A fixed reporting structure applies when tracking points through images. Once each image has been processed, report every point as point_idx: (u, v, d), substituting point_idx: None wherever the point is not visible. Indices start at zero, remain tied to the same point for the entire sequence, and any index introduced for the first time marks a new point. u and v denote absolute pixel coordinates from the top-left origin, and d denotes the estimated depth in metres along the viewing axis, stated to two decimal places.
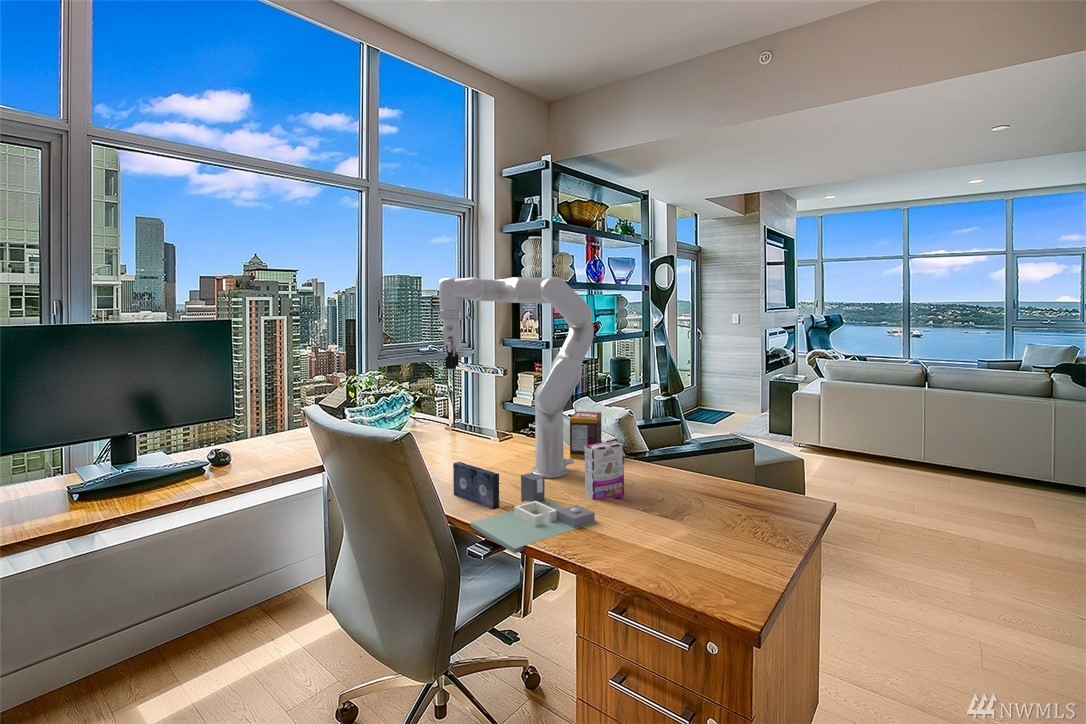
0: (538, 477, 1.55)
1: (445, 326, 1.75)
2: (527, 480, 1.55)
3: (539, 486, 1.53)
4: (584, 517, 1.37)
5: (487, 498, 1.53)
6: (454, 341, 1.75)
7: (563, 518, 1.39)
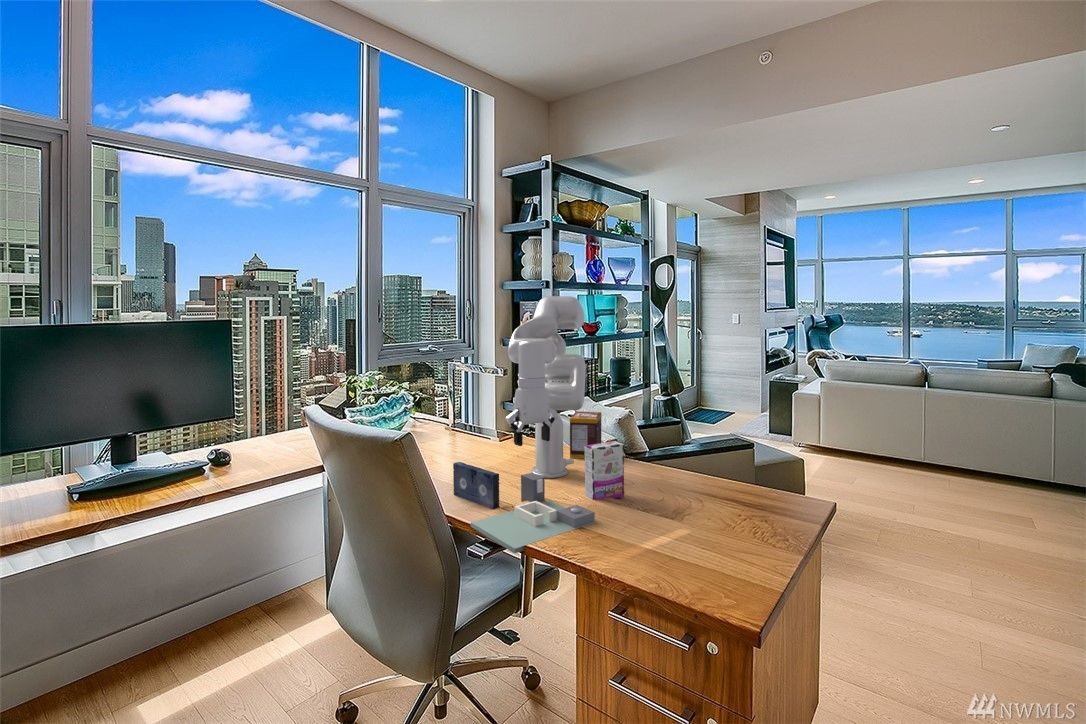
0: (538, 477, 1.55)
1: None
2: (527, 480, 1.55)
3: (539, 486, 1.53)
4: (584, 517, 1.37)
5: (487, 498, 1.53)
6: None
7: (563, 518, 1.39)
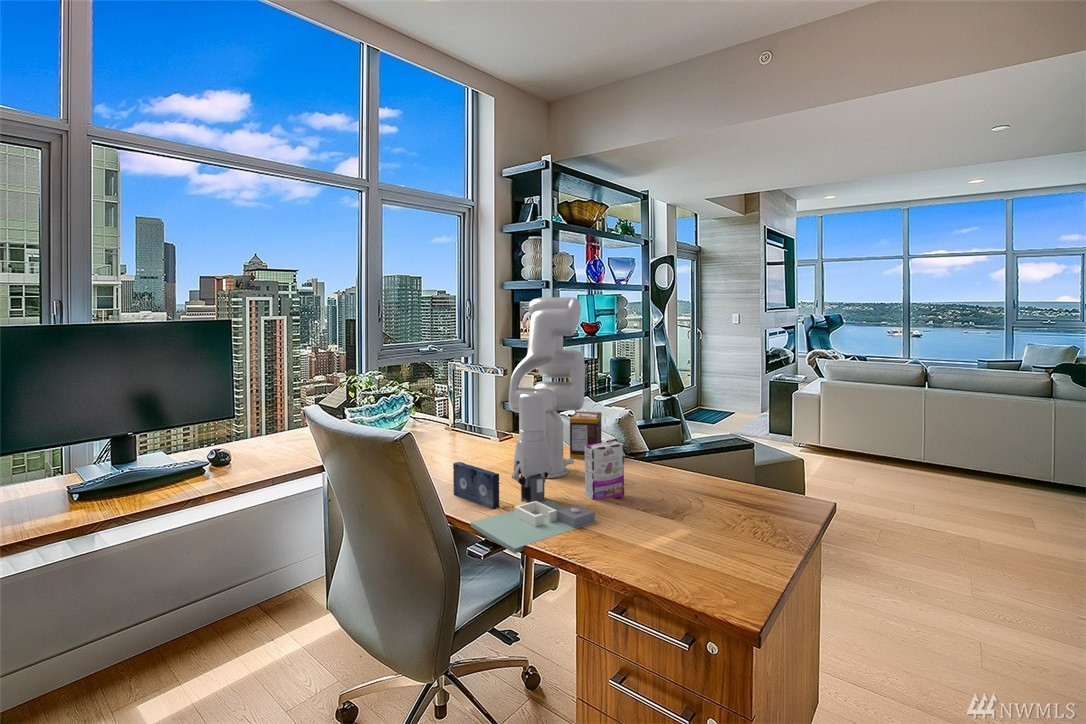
0: (538, 477, 1.55)
1: None
2: None
3: (539, 486, 1.53)
4: (584, 517, 1.37)
5: (487, 498, 1.53)
6: None
7: (563, 518, 1.39)
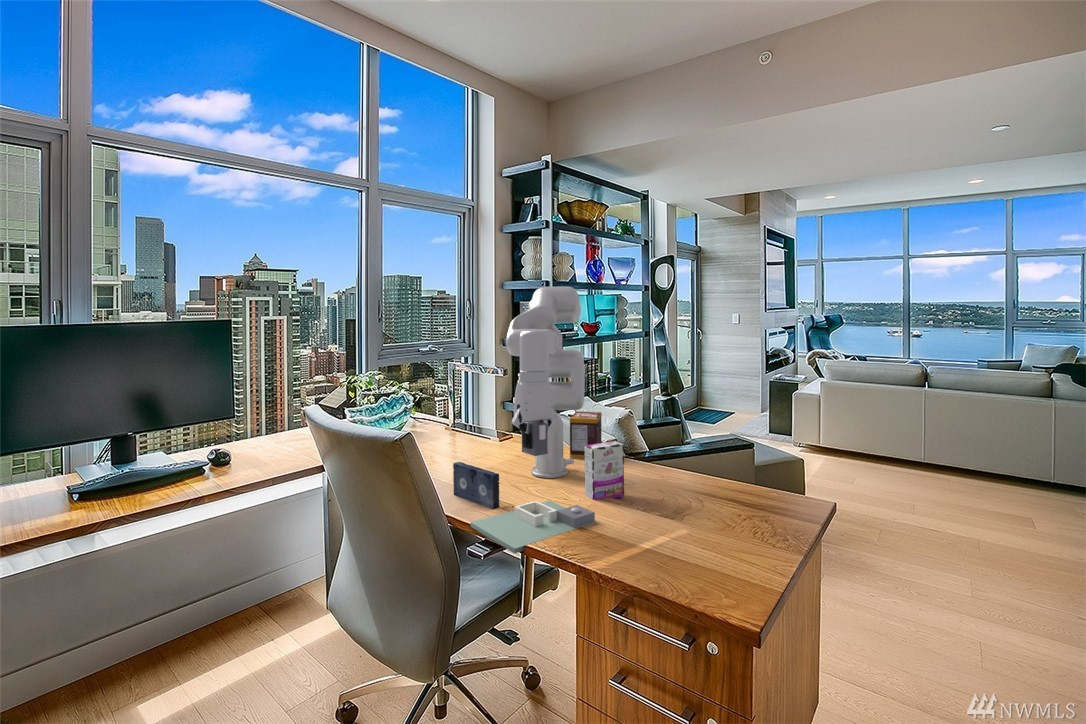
0: (540, 423, 1.41)
1: None
2: None
3: (541, 432, 1.39)
4: (584, 517, 1.37)
5: (487, 498, 1.53)
6: None
7: (563, 518, 1.39)
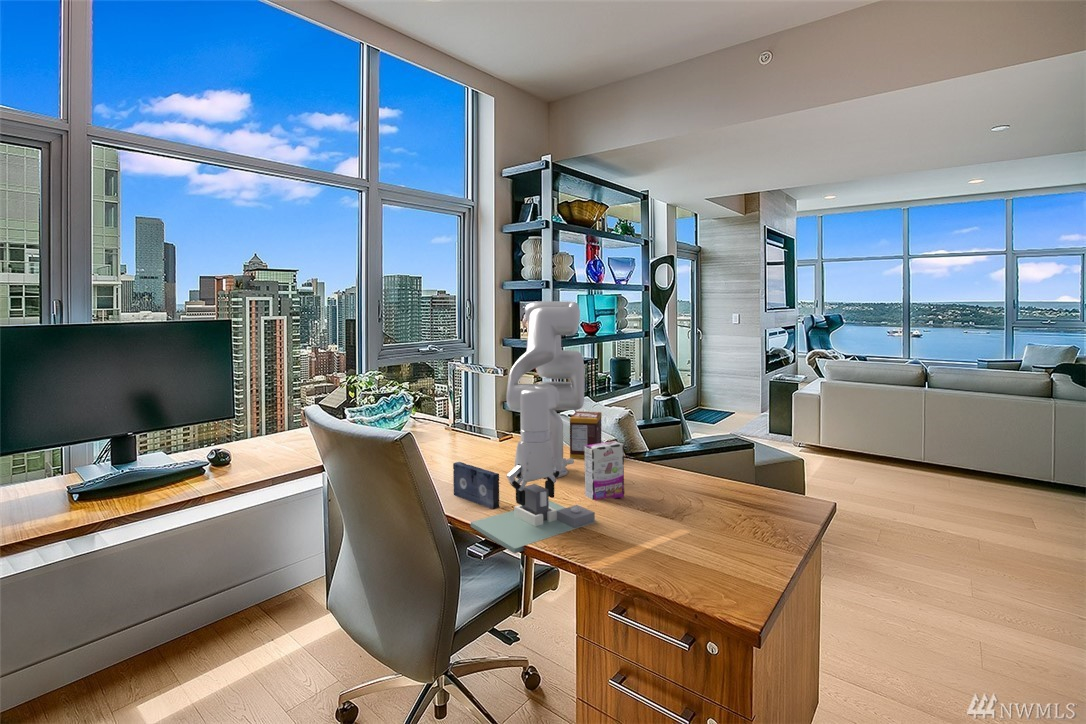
0: (541, 489, 1.40)
1: None
2: (530, 493, 1.40)
3: (542, 499, 1.39)
4: (584, 517, 1.37)
5: (487, 498, 1.53)
6: None
7: (563, 518, 1.39)
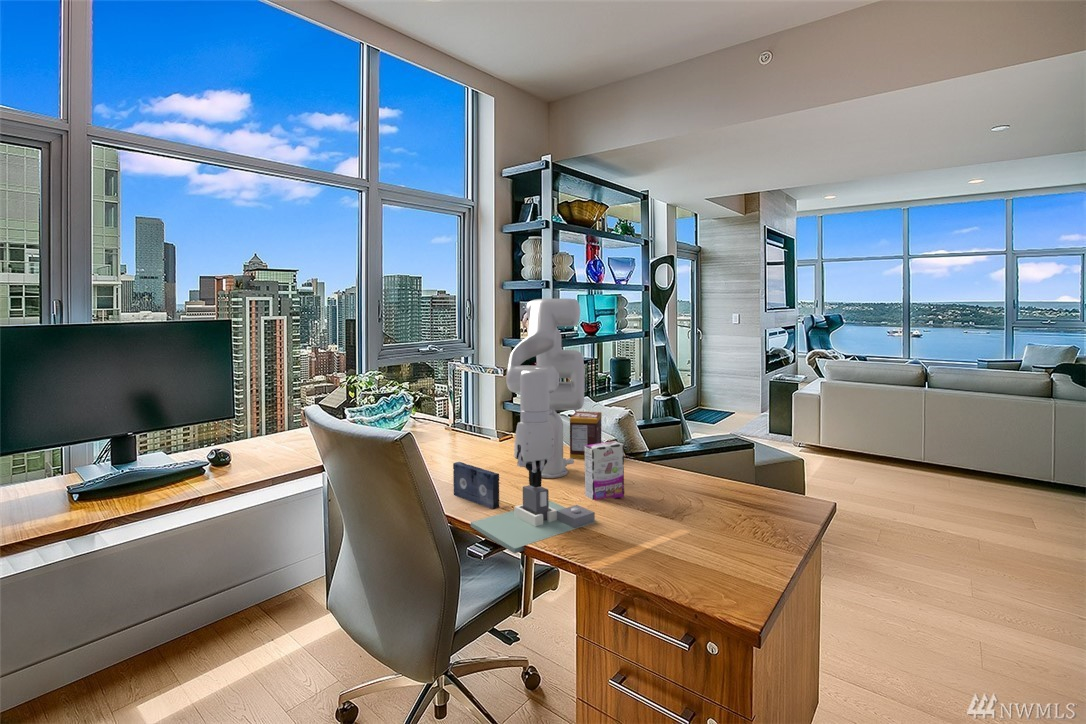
0: (541, 489, 1.40)
1: None
2: (530, 493, 1.40)
3: (542, 499, 1.39)
4: (584, 517, 1.37)
5: (487, 498, 1.53)
6: None
7: (563, 518, 1.39)
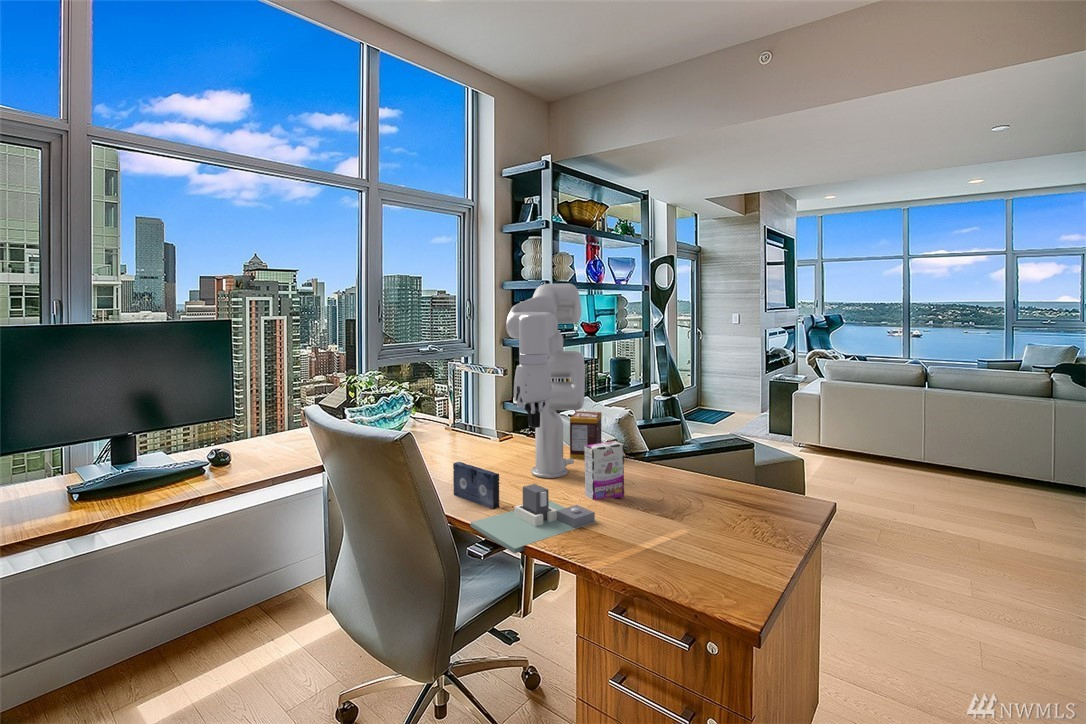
0: (541, 489, 1.40)
1: None
2: (530, 493, 1.40)
3: (542, 499, 1.39)
4: (584, 517, 1.37)
5: (487, 498, 1.53)
6: None
7: (563, 518, 1.39)
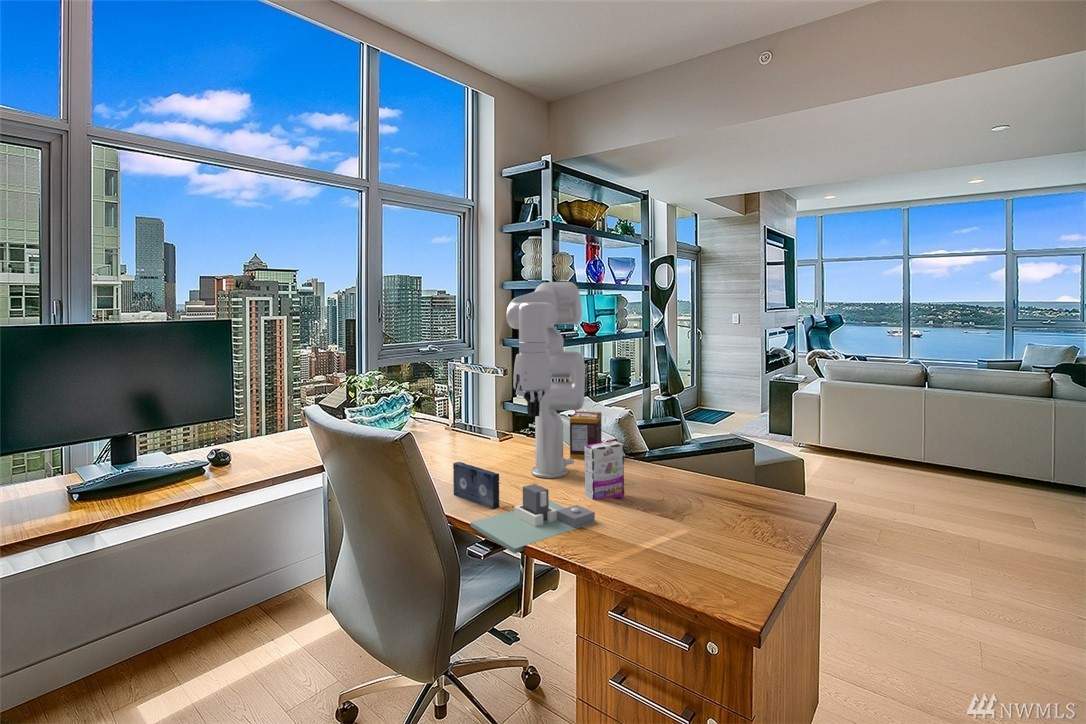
0: (541, 489, 1.40)
1: None
2: (530, 493, 1.40)
3: (542, 499, 1.39)
4: (584, 517, 1.37)
5: (487, 498, 1.53)
6: None
7: (563, 518, 1.39)
